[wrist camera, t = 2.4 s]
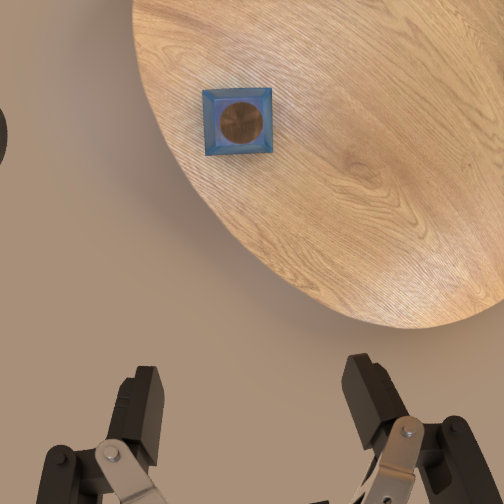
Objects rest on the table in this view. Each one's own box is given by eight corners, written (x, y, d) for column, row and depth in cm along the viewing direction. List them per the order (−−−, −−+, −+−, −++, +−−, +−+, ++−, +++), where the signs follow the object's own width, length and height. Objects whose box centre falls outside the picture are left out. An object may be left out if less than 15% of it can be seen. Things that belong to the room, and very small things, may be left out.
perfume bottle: (264, 145, 33) (284, 162, 22) (208, 148, 33) (200, 166, 22) (263, 91, 30) (283, 81, 20) (206, 94, 30) (196, 84, 19)
